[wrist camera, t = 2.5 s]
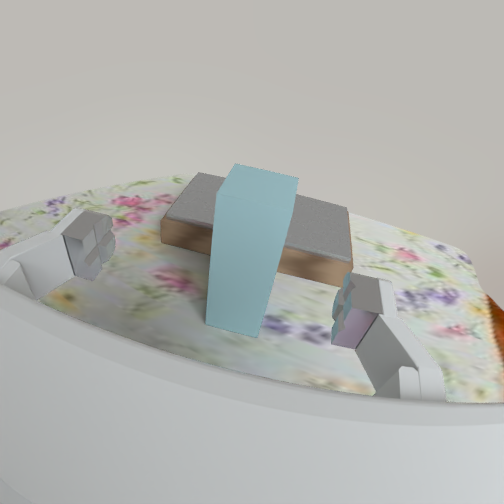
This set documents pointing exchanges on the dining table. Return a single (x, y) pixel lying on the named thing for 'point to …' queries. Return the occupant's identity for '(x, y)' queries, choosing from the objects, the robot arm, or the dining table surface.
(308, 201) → the plinth
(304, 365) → the dining table surface
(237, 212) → the teal block
